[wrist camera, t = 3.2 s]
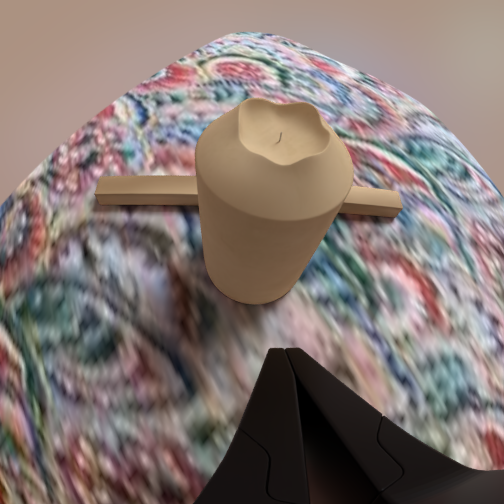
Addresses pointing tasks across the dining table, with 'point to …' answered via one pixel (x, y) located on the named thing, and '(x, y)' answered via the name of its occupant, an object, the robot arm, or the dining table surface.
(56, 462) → the dining table surface
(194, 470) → the dining table surface
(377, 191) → the oak strip
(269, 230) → the candle
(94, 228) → the dining table surface
